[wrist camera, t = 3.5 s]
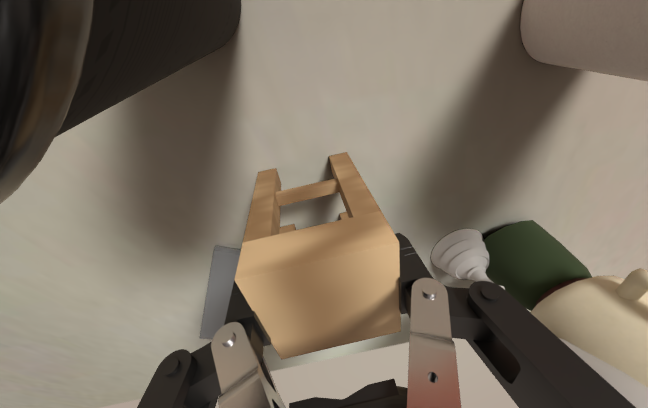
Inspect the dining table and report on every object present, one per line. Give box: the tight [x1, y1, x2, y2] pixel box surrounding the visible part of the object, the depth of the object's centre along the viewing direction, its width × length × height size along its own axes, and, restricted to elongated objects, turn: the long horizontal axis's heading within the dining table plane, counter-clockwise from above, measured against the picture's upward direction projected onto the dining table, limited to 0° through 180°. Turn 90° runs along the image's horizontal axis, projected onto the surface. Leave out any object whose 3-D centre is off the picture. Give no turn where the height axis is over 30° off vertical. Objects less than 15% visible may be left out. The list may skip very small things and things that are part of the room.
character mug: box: [483, 220, 648, 388], centre depth 18 cm, size 11×7×13 cm, turn 6°
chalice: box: [431, 228, 648, 408], centre depth 15 cm, size 7×7×18 cm
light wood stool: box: [234, 152, 401, 359], centre depth 14 cm, size 6×6×9 cm
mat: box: [200, 246, 241, 339], centre depth 24 cm, size 14×12×1 cm
